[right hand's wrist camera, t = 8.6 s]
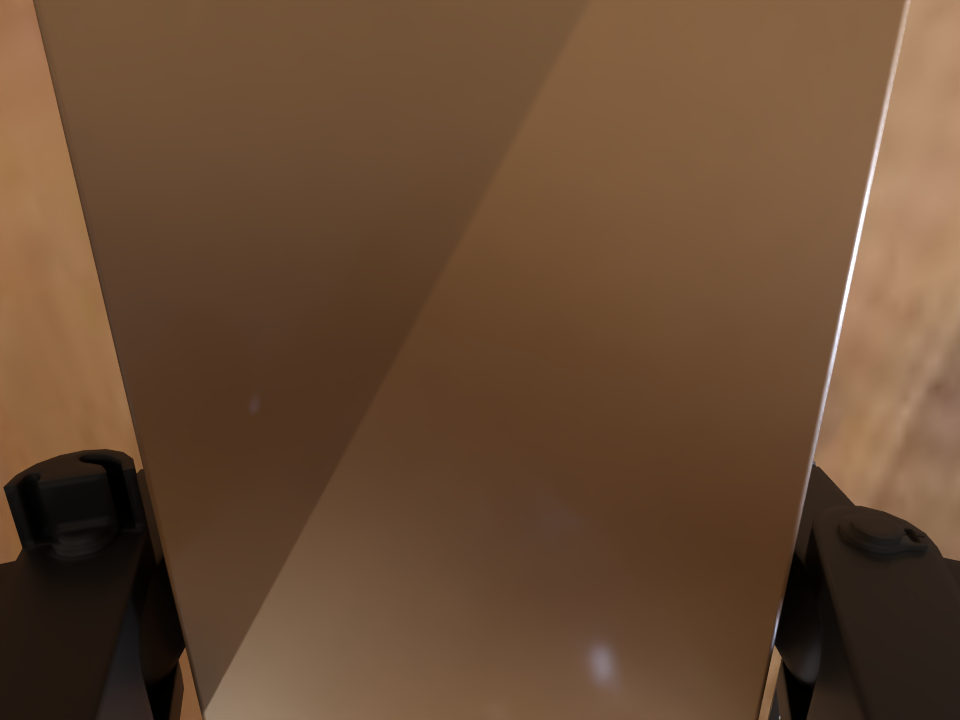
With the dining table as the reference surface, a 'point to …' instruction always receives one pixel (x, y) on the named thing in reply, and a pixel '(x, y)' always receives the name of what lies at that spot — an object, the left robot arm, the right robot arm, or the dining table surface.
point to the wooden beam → (475, 332)
